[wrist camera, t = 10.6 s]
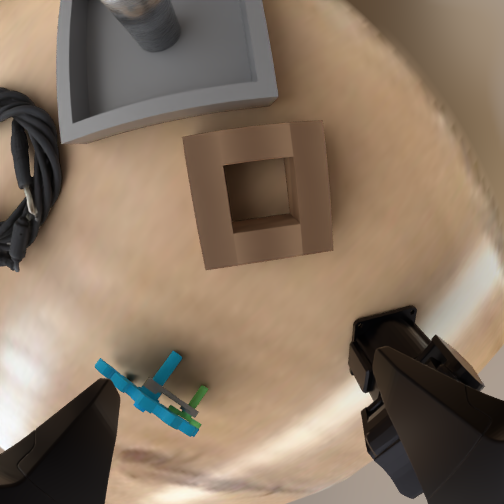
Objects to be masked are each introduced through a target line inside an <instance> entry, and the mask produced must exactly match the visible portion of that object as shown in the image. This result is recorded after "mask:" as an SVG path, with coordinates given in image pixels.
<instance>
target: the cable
mask: <svg viewBox="0 0 504 504" xmlns="http://www.w3.org/2000/svg"><path fill="white" fill-rule="evenodd" d="M9 117H13V118H14V119H13V121H12V136H11V152H12V155H13V160H14V168H15V173H16V177H17V181H18V186H19V188H20V189H24V192H25V195H26V197H25V198H24V200H23V201H22V202H21V203H20V205H19V206H18V207H17V209H16V210H15V211H14V212H13V213H12V215H11V216H10V217H9V218H8V219H7V220H6V221H3V222H0V266H7V267H9V268H10V269H11V270H13V271H14V270H15V271H16V272H19V262H20V261H21V260H22V259H23V258H24V257H25V255H26V250H27V248H28V247H29V246H30V245H31V244H32V243H33V242H34V240H35V238H36V236H37V234H38V231H39V228H40V226H41V225H42V224H43V223H44V222H45V220H46V218H47V217H48V214H49V211H50V208H51V207H52V206H53V205H54V203H55V202H56V200H57V198H58V196H59V193H60V189H61V182H62V175H61V168H60V164H59V151H58V145H57V131H56V127H55V124H54V122H53V120H52V118H51V117H50V115H49V114H48V113H47V112H46V111H45V110H43V109H41V108H39V107H37V106H35V105H34V103H33V102H32V101H31V100H30V99H29V98H28V97H27V96H26V95H24V94H22V93H20V92H17V91H10V90H8V89H6V88H1V87H0V122H1V121H4V120H5V119H7V118H9ZM24 128H25V129H26V130H27V131H28V134H29V136H30V139H31V142H32V144H33V147H34V150H35V156H34V176H33V177H31V175H30V164H29V152H28V149H29V145H28V140H27V136H26V132H25V131H24Z"/></svg>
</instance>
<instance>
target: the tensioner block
mask: <svg viewBox="0 0 504 504" xmlns="http://www.w3.org/2000/svg"><path fill="white" fill-rule="evenodd" d="M182 138H183V145H184V152H185V158H186V165H187V171H188V177H189V183H190V189H191V195H192V201H193V206H194V212H195V218H196V223H197V228H198V234H199V239H200V244H201V249H202V254H203V259H204V264H205V269H206V270H211V269H217V268H224V267H231V266H237V265H244V264H250V263H257V262H264V261H270V260H276V259H283V258H289V257H296V256H302V255H308V254H315V253H321V252H327V251H333V231H332V213H331V198H330V185H329V173H328V162H327V152H326V143H325V135H324V126H323V120H321V121H303V122H289V123H277V124H267V125H257V126H249V127H241V128H233V129H226V130H220V131H213V132H207V133H201V134H196V135H190V136H185V137H182ZM275 158H284V163H285V171H286V180H287V189H288V198H289V208H290V214H283V215H276V216H268V217H261V218H254V219H248V220H241V221H234V222H232V216H231V210H230V203H229V196H228V190H227V183H226V176H225V170H224V165H230V164H236V163H243V162H251V161H259V160H267V159H275Z"/></svg>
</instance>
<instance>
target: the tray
mask: <svg viewBox="0 0 504 504" xmlns="http://www.w3.org/2000/svg"><path fill="white" fill-rule="evenodd" d="M171 3H172V5H173V8H174V10H175V13H176V16H177V18H178V21H179V24H180V27H181V34H180V37H179V39H178V40H177V42H176V43H175V44H174V45H172V46H171V47H170V48H168V49H166V50H164V51H160V52H148V51H145V50H143V49H142V48H141V47H140V46H139V45H138V43H137V42H136V41H135V40H134V39H133V38H132V36H131V35H130V34H129V33H128V32H127V30H126V29H125V28H124V27H123V26H122V25H121V23H120V22H119V21H118V20H117V19H116V18H115V17H114V15H113V14H112V13H111V12H110V11H109V10H108V9H107V7H106V6H105V5H104V4H103V3H102V2H101V1H100V0H61V2H60V10H59V20H58V33H57V56H56V78H57V103H58V117H59V128H60V137H61V144H87V143H90V142H93V141H96V140H100V139H103V138H106V137H109V136H113V135H116V134H120V133H123V132H127V131H131V130H135V129H138V128H142V127H146V126H151V125H155V124H159V123H164V122H168V121H173V120H178V119H183V118H188V117H193V116H199V115H205V114H211V113H217V112H224V111H231V110H238V109H247V108H255V107H265V106H270V105H271V104H272V103H273V102H274V101H275V100H276V99H277V98H278V90H277V83H276V77H275V71H274V64H273V58H272V52H271V46H270V41H269V35H268V29H267V24H266V19H265V13H264V8H263V3H262V0H171Z"/></svg>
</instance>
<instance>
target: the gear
mask: <svg viewBox="0 0 504 504" xmlns="http://www.w3.org/2000/svg"><path fill="white" fill-rule="evenodd" d="M181 360H182V357H181V356H180V355H179V354H178V353H176V352H174V351H172V353H171V354H170V355H169V357H168V358H167V359H166V361H165V362H164V364H163V365H162V366H161V368H160V369H159V370H158V372H157V373H156V375H155V376H154V377H153V379H151V378H150V377H149V378H148V379H147V381H146V382H145V383H144V385H143V386H142V387H137V386H136V385H134V384H133V383H132V382H131V381H129V380H128V379H127V378H125V377H124V376H123V375H121V374H120V373H119V372H117V371H116V370H115V369H114V368H113V367H111V366H110V365H109V364H107V363H106V362H105V361H103V360H102V359H101V358H100V359H99V361H98V362H97V363H96V364H95V368H96V369H97V370H98V371H99V372H100V373H101V374H102V375H104V376H105V377H106V378H108V379H111V380H112V382H113V384H114V386H115V387H116V388H117V389H119V390H120V391H121V392H123V393H124V392H125V393H127V394H128V395H129V396H130V397H131V398H132V399H133V400H134V401H135V403H134V406H135V407H136V408H138V409H139V410H140V411H142V412H144V411H145V410H146V411H148V412H149V413H153V414H155V415H156V416H157V417H159V418H160V419H161V420H162V421H163V422H165V423H166V424H168V425H169V426H171V427H173V428H174V429H179V430H180V431H182V432H183V433H185V434H186V435H188V436H190V437H191V436H193V437H194V436H195V435H196V434H197V432H198V431H199V427H200V426H201V424H200V423H199V422H197V421H195V420H194V419H192V418H191V417H192V416H193V417H194V418H195V417H196V416H197V414H198V413H199V412H198V411H197V410H195V408H196V407H197V405H198V404H199V402H200V401H201V399H202V398H203V396H204V395H205V393H206V392H207V391H208V388H206V387H205V386H203V385H201V387H200V388H199V390H198V391H197V392H196V394H195V395H194V397H193V398H192V400H191V401H190V403H189V404H186V403H185V402H183V401H182V400H180V399H179V398H178V397H176V396H175V395H173V394H172V393H170V392H169V391H168V390H166V389H165V388H164V387H162V386H163V385H164V383H165V382H166V381H167V379H168V378H169V376H170V375H171V374H172V372H173V371H174V369H175V368H176V367H177V365H178V364H179V362H180V361H181ZM162 393H163V394H165V395H166V396H168V397H169V398H171V399H172V400H173V401H175V402H176V403H178V404H179V405H181V407H180V409H182V412H181V411H179V410H178V409H176V408H175V407H173V406H172V405H170V406H169V408H167V407H165V406H164V405H162V404H160V403H159V400H158V398H159V397H160V395H161V394H162ZM178 415H179V416H178ZM180 416H181V417H182V418H181V417H180ZM183 418H184V419H186V420H187V421H189V422H187V421H186V420H184V419H183Z"/></svg>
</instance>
